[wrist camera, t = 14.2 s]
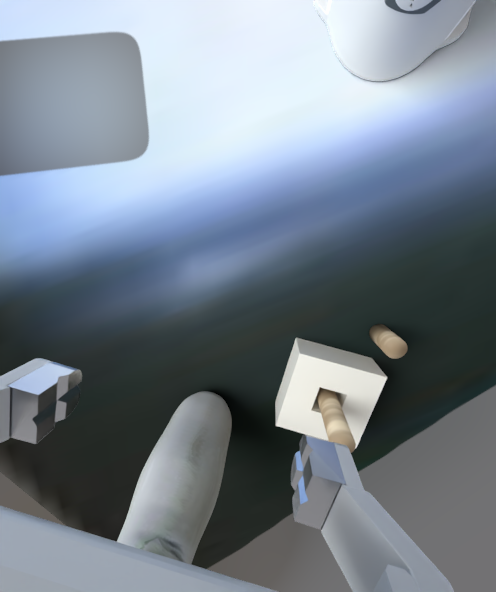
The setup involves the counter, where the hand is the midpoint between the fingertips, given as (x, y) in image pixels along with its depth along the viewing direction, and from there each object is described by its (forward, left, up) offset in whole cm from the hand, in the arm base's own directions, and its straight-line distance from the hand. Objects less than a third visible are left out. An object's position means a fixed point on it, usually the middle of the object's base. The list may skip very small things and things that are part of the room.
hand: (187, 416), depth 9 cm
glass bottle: (+26, -2, -33) cm, 42 cm away
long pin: (+15, +16, -33) cm, 40 cm away
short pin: (+4, +22, -33) cm, 40 cm away
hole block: (+15, +16, -33) cm, 40 cm away
